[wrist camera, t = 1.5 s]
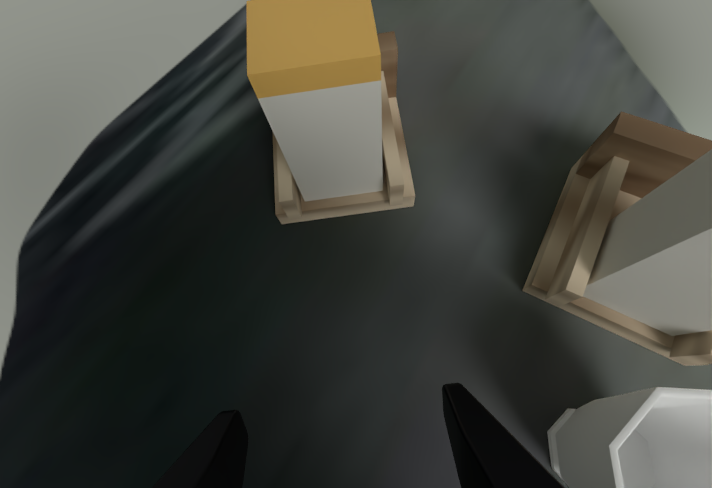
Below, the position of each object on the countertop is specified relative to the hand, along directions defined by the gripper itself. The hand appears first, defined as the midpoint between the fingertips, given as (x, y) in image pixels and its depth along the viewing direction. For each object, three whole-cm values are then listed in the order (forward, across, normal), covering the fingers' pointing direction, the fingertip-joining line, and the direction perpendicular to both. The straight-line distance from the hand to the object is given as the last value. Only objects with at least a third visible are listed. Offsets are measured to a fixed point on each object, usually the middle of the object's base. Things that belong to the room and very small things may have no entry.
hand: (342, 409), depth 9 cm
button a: (+17, 0, -2) cm, 17 cm away
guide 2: (+13, -16, +5) cm, 21 cm away
